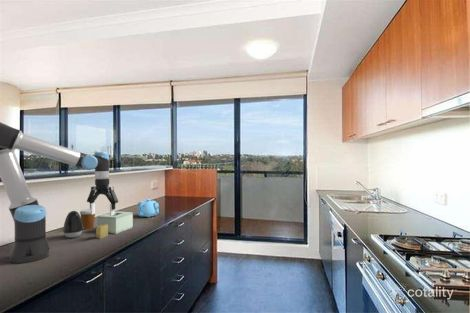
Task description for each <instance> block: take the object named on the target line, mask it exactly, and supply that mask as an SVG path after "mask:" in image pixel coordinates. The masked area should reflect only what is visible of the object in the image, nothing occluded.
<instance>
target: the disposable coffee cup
mask: <svg viewBox="0 0 470 313" xmlns="http://www.w3.org/2000/svg"><path fill="white" fill-rule="evenodd" d="M96 212H97V211H96V210H95V214H92V215H91V209H90V208H84V209H81V210H80V211H79V215H80V217H81V220H82V224H83V230H86V231H87V230H92V229H94V225H95V217H96Z"/></svg>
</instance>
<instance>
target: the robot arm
mask: <svg viewBox="0 0 470 313" xmlns="http://www.w3.org/2000/svg"><path fill="white" fill-rule="evenodd" d="M16 150H18V151H23V152H25V153H29V154H32V155H36V156H39V157H42V158H46V159H51V160H54V161H57V162H61V163H64V164H68V165H69V166H70V168H71V170H86V171H90V170H94V178H95V179H94V185H95V186H90V191H89V194H88V196H87V200H86V202H87V203H89V209H91V215H92V214H95V215H96V213H95V211H96V202H95V201H96V200H97V198H98V197H99V196H100V195H104V196H105V197H106V198H107V200H108V201H109V203H110V204H109V213H110V216H112V215H114V211H115V210H116V204H117V203H119V199H118V197H117V195H116V193H115V190H114V189H115V188H114V186H109V185H110V154H109V152H107V151H95V152H94V154H93V155H92V154H88V153H84V152H81V151H78V150H75V149H72V148H69V147H65V146H63V145H60V144H57V143H53V142H50V141H48V140H44V139H41V138H38V137H35V136H32V135H30V134H29V135H28V134H26V133H23V132H22V130H20V129H19V128H18V129H17V128H14V127H12V126H10V125H7V124H5V123H3V122H0V180H1V182H2V183H1V184H2V185H3V187H4V189H5V193H6V194H7V198H8V200H9V202H10V204H9V207H8V209H9V213H10V215H11V218H12V221H13V222H14V243H13V247H12V249H11V252H10V254H9V262H10V263H12V264H21V263H22V264H23V263H25V264H26V263H30V262H35V261H40V260H43V259H44V258H48V257H49V256H50V255H51V249H50V246H49V243H48V241H47V239H46V234H47V233H46V231H47V230H46V229H47V226H46V224H47V223H46V221H47V220H46V217H47V211H46V207H45V206H44V205H40V203H39V202H38V201H39V200H38V199H37V198H36V197H33V196H32V194H31V191H30V188H29V186H28V183H27V181H26V179H25V176H24V174H23V171H22V169H21V166H20V163H19V161H18V158H17V156H16V154H15V151H16Z"/></svg>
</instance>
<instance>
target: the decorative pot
mask: <svg viewBox="0 0 470 313" xmlns="http://www.w3.org/2000/svg"><path fill="white" fill-rule="evenodd" d="M159 213H160V211H159V203H158V202H157V201H156V200H151V198H147V199H145V200H144V201H139V202H138V203H137V211H136V214H137V216H139V217H140V218H144V217H146V218H152V217H155V216H157V215H158V214H159Z"/></svg>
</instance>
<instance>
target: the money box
mask: <svg viewBox="0 0 470 313" xmlns="http://www.w3.org/2000/svg"><path fill="white" fill-rule="evenodd" d="M133 214H134V213H133V212H132V211H131V212H130V211H119V210H118V211H116V210H114V215H112V216H110V212H108V213H104V214H100V215H97V216H96V226H99V225H102V224H108V234H112V233H113V235H116V234H119V233H122V232H124V231H126V230H130V229H132V228H134V226H133V224H134V223H133V221H134V217H133V216H134V215H133Z"/></svg>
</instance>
